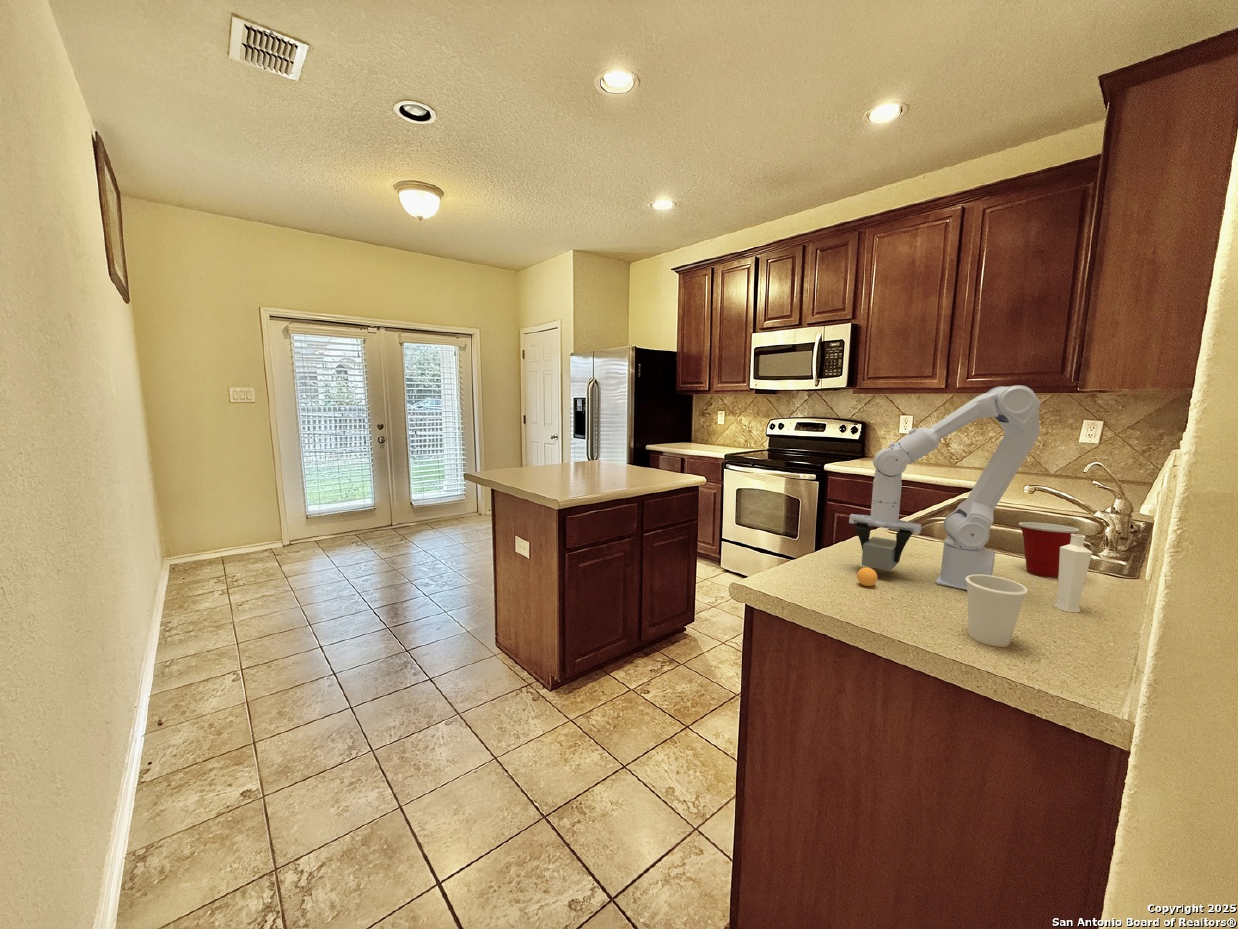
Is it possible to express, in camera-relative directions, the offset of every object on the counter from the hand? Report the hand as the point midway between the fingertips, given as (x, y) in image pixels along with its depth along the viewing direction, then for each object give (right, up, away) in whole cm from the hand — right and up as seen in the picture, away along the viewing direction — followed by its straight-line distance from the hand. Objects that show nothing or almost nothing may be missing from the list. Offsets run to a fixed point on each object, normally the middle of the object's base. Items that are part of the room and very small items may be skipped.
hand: (880, 558), depth 114 cm
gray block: (0, -1, 0) cm, 1 cm away
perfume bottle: (+28, -7, -17) cm, 33 cm away
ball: (-7, -3, -7) cm, 10 cm away
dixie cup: (+3, -8, -30) cm, 31 cm away
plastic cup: (+40, -4, +3) cm, 40 cm away
